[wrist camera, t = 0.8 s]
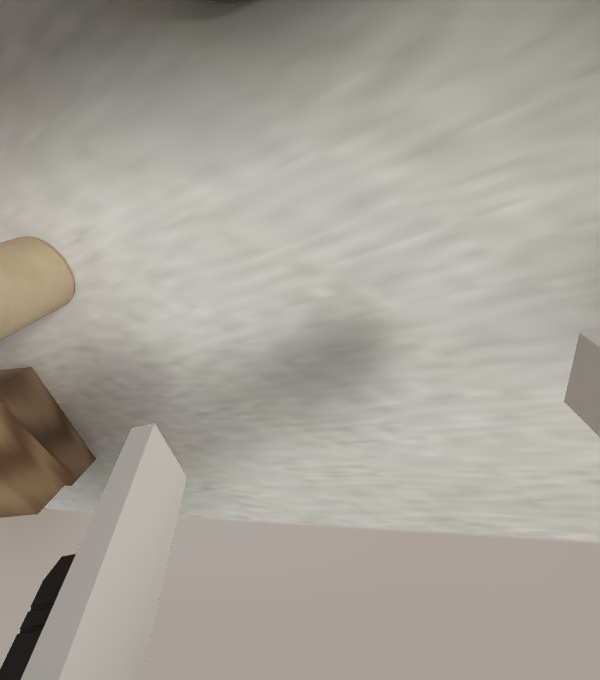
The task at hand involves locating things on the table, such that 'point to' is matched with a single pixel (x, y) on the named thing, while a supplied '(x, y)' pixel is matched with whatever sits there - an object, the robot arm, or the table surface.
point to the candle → (31, 283)
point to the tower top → (25, 470)
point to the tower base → (44, 419)
